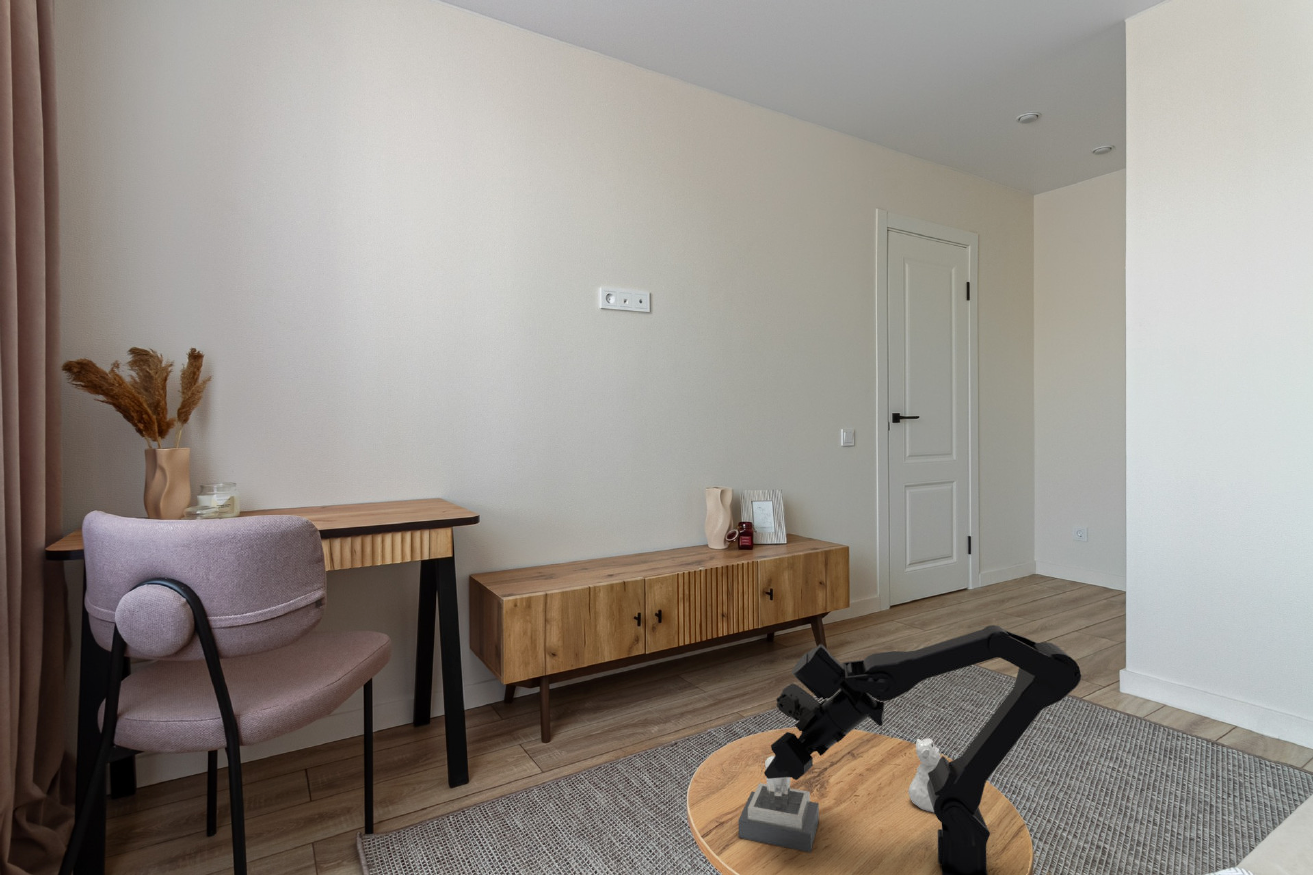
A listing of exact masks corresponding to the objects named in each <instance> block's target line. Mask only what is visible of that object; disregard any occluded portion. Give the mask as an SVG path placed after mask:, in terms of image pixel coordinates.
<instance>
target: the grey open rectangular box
mask: <svg viewBox="0 0 1313 875" xmlns="http://www.w3.org/2000/svg"><path fill="white" fill-rule="evenodd" d="M810 794H811V792H810V791H807V790H801V789H796V788H791V787H790V794H789V810H788V813H785V812H779V811H774V810H769V803H768V791H767V783H762V782H761V783H760V782H759V783H758V784H757V787H756V789H755V791H754V790H753V791H751V792H750V794H749V795H748V799H747V801H746V803H745V805H744V807H743V809H742V811H741V814H740V815H739V818H738V838H739V839H743V840H748V841H752V842H753V841H754V842H759V843H764V844H769V845H771V846H772V845H773V846H777V847H781V848H782V847H783V848H788V849H791V850H792V849H793V850H798V851H803V852H808V853H811V852H812V849H813V845H814V840H815V837H816V833H817V828H818V825H819V820H820V816H819V814H820V811H819V809H820V807H819V806H820V805H819V802H816V801H815V802H814V801H810V798H811V797H810Z"/></svg>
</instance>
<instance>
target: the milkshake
mask: <svg viewBox="0 0 1313 875" xmlns="http://www.w3.org/2000/svg"><path fill="white" fill-rule="evenodd" d="M774 757H775V755H772V756H768V758H767V759H766V760H765V761H764V767H765V771H766V769H767V768H768V766H769V765H770V763H771V762H772V760H773V758H774ZM765 777H766V776H765ZM791 778H792V777H785V778H772V779H768V778H767V777H766V784H767V791H768V803H769V810H774V811H779V812H785V813H788V810H789V794H790V788H791Z"/></svg>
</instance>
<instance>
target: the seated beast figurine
mask: <svg viewBox="0 0 1313 875" xmlns="http://www.w3.org/2000/svg"><path fill="white" fill-rule="evenodd" d="M915 748H916V749H915V752H916V755H917V758H918V759H919V762H920V764H919V766H918V767H917V768H916V773H915V774H914V775H915V776H914V777H913V779H912V780H911V783H910V785H909V786H908V791H907V792H908V795H909V798H910V800H911V802H912V803H913V804H914V805H915V806H917V807H918V808H920V810H922V811H926V812H931V813H933V814H935V813H934V810H933V807H932V804H931V801H930V798H929V795H928V790H927V783H928V781H929V776H928V773H929V772H930V771H932V770H933V769H934V768H935V767H936V766H937V764H938V762H939V760H940V758H941V757H942V756H941V753H940V748H938V747H937V746H935V743H934V740H933V739H931V738H930V737H928V738H927V737H925V738H923V739H920V738H917V739H916V743H915Z"/></svg>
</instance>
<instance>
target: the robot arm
mask: <svg viewBox="0 0 1313 875" xmlns="http://www.w3.org/2000/svg"><path fill="white" fill-rule="evenodd" d="M997 658H1000V659H1002V660H1004V661H1006V662H1009V663H1010V664H1011V665H1013V666H1015V667H1018V670H1017V675H1016V679H1015V683H1014V686H1013V688H1012V689H1011V690H1010V692H1009V693H1008V695H1007V696H1006V697H1005V698H1004V700H1003V701H1002V703H1001V704H1000V705H999V707H997V709H996V710H995V711H994V713H993V714H992V715H991V717H990V718H989V719H988V720H987V722H986V723H985V724H984V725H983V727H982V728H981V729H980V731H979V732H978V734H976V736H975V737H974V739H973V740H972V742H970V744H969V745H968V746H967V748H966V749H965V750H964V752H962V754H961V755H960V756H959V757H958V758H955V759H953V760H951V761H949V759H947V758H946V757H945V756H944V755H943V756H941V758H940V760H939V762H938V764H937V766H936V767H935V768H934V769H933V770H932V771H930V772H929V773H928V776H929V781H928V783H927V790H928V795H929V798H930V801H931V804H932V807H933V810H934V813H933V814H934V815H935V817H936V818H937V820H938V821H939V822H940V823H941V829H940V828H938V829H937V863H938V864H939V865H941V867H940V868H941V875H988V868H987V865H988V864H987V844H988V841H989V839H990V835H991V832H990V830H989V828H988V825H987V823H986V821H985V819H984V817H983V814H982V813H981V811H980V805H981V801H982V798H983V794H984V791H985V786H986V783H987V781H988V779H989V778H990V777H991V776H992V774H993V773H994V772H995V771H996V770H997V768H998V767H999V766H1000V764H1001V763H1002V762H1003V761H1004V759H1005V757H1007V755H1008V754H1009V753H1010V751H1011V750H1012V749H1013V747H1014V746H1015V745H1016V744H1017V743H1018V741H1019V740H1020V738H1022V736H1023V735H1024V733H1025V732H1026V731H1027V730H1028V728H1029V727H1030V726H1031V724H1032V723H1033V722H1034V721H1035V719H1036V718H1037V717H1038V715H1039V714H1040V713H1041V712H1042V711H1043V710H1044V709H1046V708H1048V707H1050V706H1053V705H1055V704H1056V703H1059V702H1061V701H1062V700H1064V698H1066V697H1067V696H1068V695H1069V694H1070V693H1071V692H1072V691H1074V690H1075V689H1077V687H1078V686H1079V685H1080V682H1081V679H1082V674H1081V669H1080V666H1079V664H1078V663H1077V661H1076V660H1074V659H1073V658H1072V657H1071V656H1070V655H1069V654H1068V653H1067V652H1065V650H1063V649H1061V647H1059V645H1056V644H1054V643H1052V642H1046V641H1044V642H1043V641H1042V642H1036V641H1034V640H1031V639H1029V638H1027V637H1025V636H1022V635H1020V634H1017V633H1014V632H1011V631H1009V630H1006V629H1004V628H1003V627H1001V626H999V625H995V624H992V625H988V626H986V627H984V628H982V629H979V630H976V631H974V632H973V631H972V632H969V633H967V634H964V635H959V636H957V637H954V638H951V639H947V640H944V641H941V642H937V643H935V644H934V643H933V644H931V645H928V646H925V647H922V648H918V649H916V650H915V649H914V650H908V651H902V650H901V651H897V650H892V651H885V652H877V653H872V654H870V655H867V656H866V657H865V658H864V659H861V660H851V661H844V662H842V663H841V662H840V661H839V660H838V659H836V658H835V657H834V656H833V655H832V654H831V653H830V652H829V650H828V649H827V648H826V647H825V645H823V644H822V643H819V644H818V645H817V646H816V647H814V648H812V649H810V650H809V651H808V652H805V653H804V654H803V655H802V656H801V657H800V658H799V660H798V661H797V662H796V663H795V665H794V666H793V669H792V670H791V675H793V676H794V677H795V678H796V679H797V680H798V681H799V682H800V683H801V684H802V685H804V686H805V688H806V689H807V690H809V691H810V692H811V693H812V694H813V695H814V696H815V697H816V698H817V699H822V700H823V701H822V702H821V703H820V702H819V701H818V700H817V699H816V698H815V697H814V696H813V695H812V694H810V693H809V692H807V691H806V690H805V689H803V687H801V686H799V685H797V684H795V683H790V684H788V685H787V686H786V687H784V688H783V690H782V691H781V693H780V695H779V696H777V697H776V702H777V703H776V704H775V705H776V707H777V709H778V710H779V712H781V713H782V714H784V715H785V716H786V717H788V718H792V719H793V720H795V721H798V722H796V723H795V724H794V726H795V727H796V729H797V730H798V732H801V734H800V735H799V737H797V735H796V733H793V732H789V731H786V732H785V733H784V734H783V735H781V736H780V737H779V738H778V739H776V740H775V741H774V742H773V743H772V744H771V745H770V750H771V752H772V753H773V754H774V756H775V757H774V758H773V760H772V762H771V763H770V765H769V766H768V768H767V769H766V770H765V771H764V773H763V774H764V776H765V777H767V778H768V779H772V778H785V777H791V778H792V779H793V780H795V781H798V780H799V779H800V778H802V777H803V776H804V775H805V774H806V773H807V772H808V771H809V770H811V768H813V766H814V764H813V761H814V759H813V756H812V754H813V753H815V752H817V753H818V755H819V756H820V757H822V756H823V755H824V754H826V752H827V751H828V750H829V749H830V748H831V747H833V746H834V745H836V743H837V744H838V743H839V742H841V741H842V740H843V739H844V738H845V737H846V736H847V735H848V734H849V733H851V731H853V730H855V728H857V727H858V726H860V724H862V723H863V722H865V721H866V720H868V718H870V719H871V720H872V721H873V722H874V723H875V724H876V725H877V726H878V727H882V726H883V724H884V718H885V710H884V709H885V702H889V701H892V700H894V699H896V698H898V697H900V696H902V695H903V694H906V693H907V692H910V691H911V690H912V689H913V688H914V687H916V686H917V685H918V684H919V683H921V682H923V681H925V680H928V679H930V678H934V677H937V676H941V675H945V674H947V673H950V672H954V671H956V670H960V669H964V668H967V667H971V666H974V665H977V664H980V663H984V662H987V661H991V660H993V659H997Z"/></svg>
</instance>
